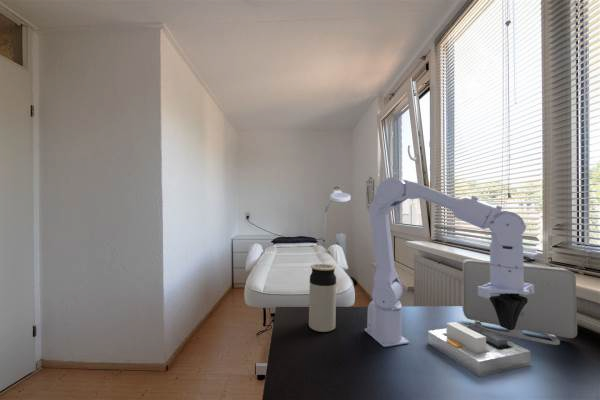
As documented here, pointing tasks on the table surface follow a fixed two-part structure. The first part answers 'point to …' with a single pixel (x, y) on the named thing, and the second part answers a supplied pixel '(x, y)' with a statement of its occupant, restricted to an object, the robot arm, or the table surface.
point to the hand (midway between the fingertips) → (507, 328)
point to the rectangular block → (466, 337)
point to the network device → (538, 310)
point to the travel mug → (322, 298)
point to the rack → (495, 359)
